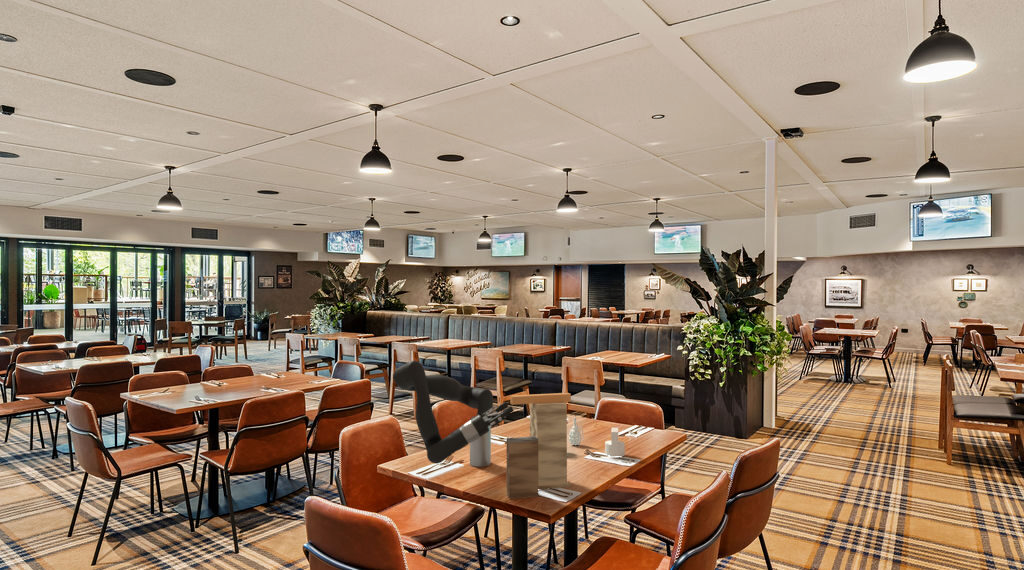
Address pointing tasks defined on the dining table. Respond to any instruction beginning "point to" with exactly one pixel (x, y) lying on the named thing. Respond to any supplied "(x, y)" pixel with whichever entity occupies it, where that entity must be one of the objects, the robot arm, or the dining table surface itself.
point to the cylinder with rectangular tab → (614, 445)
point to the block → (522, 467)
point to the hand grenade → (575, 434)
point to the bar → (540, 398)
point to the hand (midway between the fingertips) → (509, 406)
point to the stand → (550, 443)
